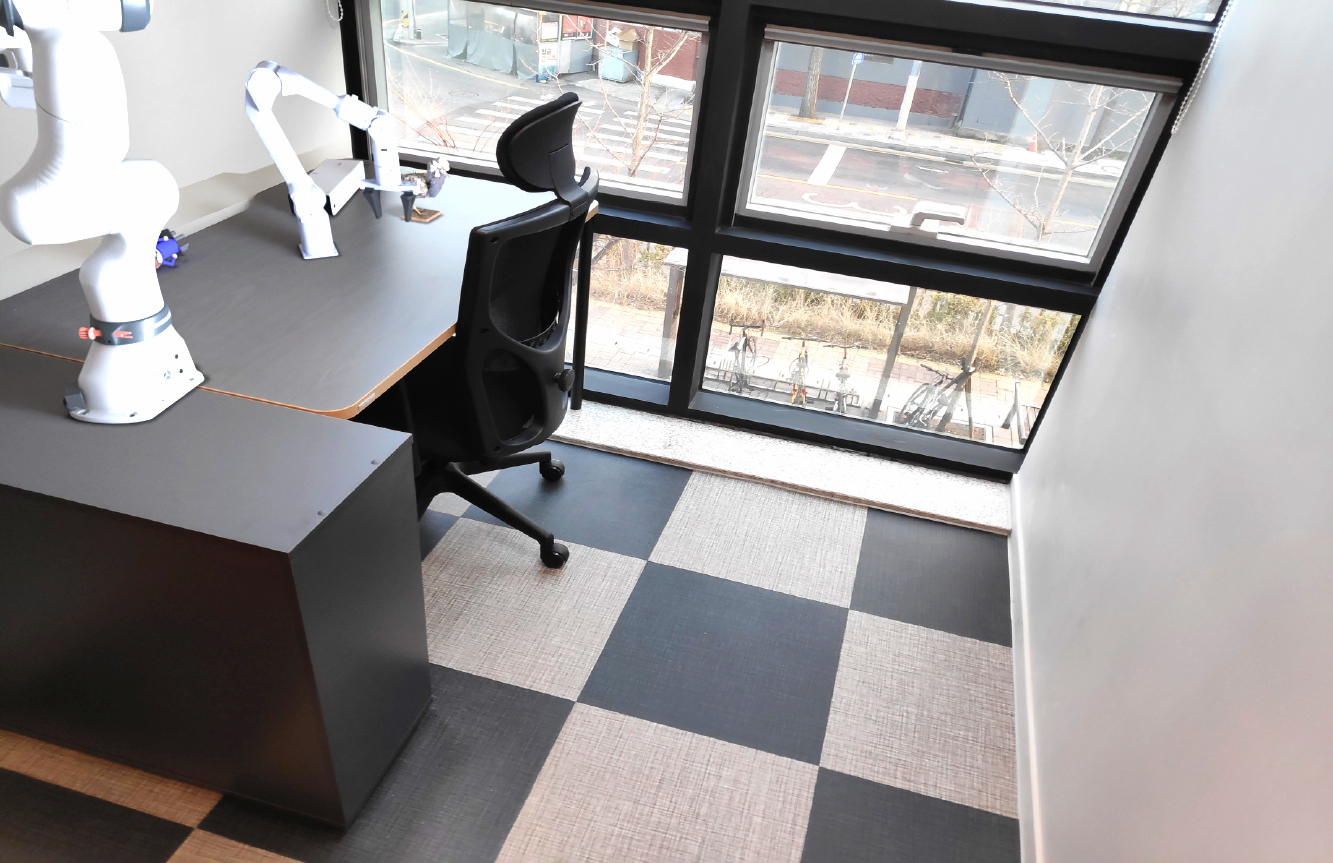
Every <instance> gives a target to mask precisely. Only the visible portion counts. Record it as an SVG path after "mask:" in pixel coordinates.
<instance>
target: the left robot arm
mask: <svg viewBox="0 0 1333 863" xmlns="http://www.w3.org/2000/svg"><path fill="white" fill-rule="evenodd" d="M153 7H154V0H0V99H1V101H2V102H3V103H4V104H5V105H6V106H7V107H8V108H14V109H24V110H25V109H26V110H34V112H35V115H36V119H37V120H36V121H37V139H36V144H35V146H34V149H33V150H32V153H31V154H30V155H29V158H28V159H27V160H26V162H25V163H24V165H23V166H21V168H20V169H19V170H18V171H17V172H16V173H15V174H14V175H12V177H10V178H9V179H7V180H6V181H4V182H2V183H1V184H0V223H1V225H2V226H3V228H4V229H5V230H6V231H7V232H8V233H9V234H10V235H12V236H13V237H14V238H16V239H17V240H19V241H21V242H23V243H25V244H27V245H30V246H35V245H36V246H37V245H39V246H40V245H42V246H43V245H62V244H68V243H69V244H70V243H72V242H78V241H82V240H85V239H90V238H95V237H100V236H102V239H101V241H100V243H99V245H98V247H97V248H96V249H95V250H94V251H93V252H92V253H91V254H90V255H89V256H87V257H86V258H85V259H84V261H83V262H81V265H80V268H79V271H78V280H79V284H80V287H81V289H82V292H83V294H84V297H85V300H86V303H87V306H88V308H89V311H90V312H89V327H86V326H81V327H80V328H79V329H78V337H79V338H81V340H89V339H90V340H91V344H90V347H89V350H88V352H87V354H86V357H85V359H84V363H83V365H82V367H81V370H80V372H79V375H78V378H77V380H75V381H68V382H65V389H64V396H63V399H62V405H63V406H64V408H65V409H67V410H68V411H69V415H70V416H71V417H72V418H73V419H75V420H79V421H82V422H88V423H94V424H95V423H97V424H130V423H138V422H144V421H149V420H151V419H153V418H154V417H156V416H157V415H158V414H161V412H163V411H164V410H165V409H166V408H169V406H171V405H172V404H174V403H175V402H176V401H178V400H179V399H181V398H182V397H184V396H185V395H186V394H187V393H188V392H190V391H191V390H193V389H194V388H196V387H197V386H198V385H199V384H201V383H203V381H204V380H205V377H204V376H203V374H202V372H200V371H199V370H197V369H196V367H195V364H194V362H193V360H192V356H191V355H190V352H189V350H188V347H187V345H186V342H185V340H184V339H183V338H182V337H181V335H180V334H179V333H178V332H177V331H176V329H175V328H174V327H173V325H172V324H173V318H172V313H171V310H170V308H169V306H168V303H167V301H165V300H164V299H163V295H162V292H161V289H160V284H159V280H158V276H157V270H156V269H155V264H154V254H155V247H156V243H157V240H158V237H159V234H160V232H161V230H163V228H164V227H165V225H166V223H167V222H168V221H169V220H170V218H172V216H173V215H174V214H175V213H176V212H177V209H178V206H179V202H180V192H179V188H178V184H177V183H176V180H175V179H174V177H173V176H172V173H170V171H169V170H168V169H167V168H166V167H164V166H163V165H162V164H161V163H159V162H158V161H156V160H155V159H151V158H125V157H126V156H127V155H126V154H127V153H128V150H129V146H130V138H129V137H130V136H129V118H128V105H127V94H126V88H125V83H124V82H125V81H124V78H123V74H122V73H123V72H122V70H121V67H120V63H119V60H118V57H117V54H116V51H115V49H114V47H113V45H112V44H111V42H110V41H109V40H108V39H107V38H106V37H105V36H104V35H103V34H101V32H102V31H103V32H104V31H108V32H109V31H119V32H120V33H131V32H132V33H134V32H138V31H142V30H145V29H146V27H147V26H148V25H149V24H150V23H151V15H152V13H153ZM100 31H101V32H100ZM2 49H4V50H2Z"/></svg>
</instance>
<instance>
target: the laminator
mask: <svg viewBox="0 0 1333 863" xmlns="http://www.w3.org/2000/svg"><path fill="white" fill-rule="evenodd" d="M307 175H308V176H309V177H310V178H311V179H312V180H313V182H314V184H315V185H316V186H317V187H319V188H320V189H321V190H322V191H323V192H324V194H325V196H326V202H325V205H324V207H323V209H324V210H325V212H326V213H327V214H328V216H333V217H335V216H336V215H337V214H338V213H339V212H340V210H341V209H342V208H343V207H344V206H345V205H346V204H347V202H348V201H349V200H350V199H351V198H352V197H353V196H354V194H355V193H356V192H357V191H358V190H359V189H360V185H359V181H360V180H361V179H366V173H365V166H364V161H363V160H359V159H358V160H357V159H336V158H326V159H324V160H323V161H322V162H321V163H320V164H319V165H318V166H317V167H315V168H314V169H313V170H312V171H311V172H310V173H309V174H307ZM287 198H288V204H289V208H290V212H291V214H292V215H296V213H295V211H294V203H293V200H292V198H291V197H290V193H289V192H288V193H287Z"/></svg>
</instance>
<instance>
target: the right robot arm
mask: <svg viewBox="0 0 1333 863" xmlns="http://www.w3.org/2000/svg"><path fill="white" fill-rule="evenodd" d="M244 88H245V99H244V111H245V114H246V115H247V117H248V119H249V121H250V123H251V124H252V125H253V127H254V129H255V131H256V132H257V135H258V136H259V138H260V139H261V141H262V143H263V145H264V146H265V148H266V150H267V152H268V153H269V155H270V157H271V159H272V161H273V162H274V164H275V165H276V168H277V169H278V171H279V173H280V174H281V176H282V178H283V180H284V182H285V183H286V185H287V189H288V193H290V197H291V198H292V200H293V203H294V211H295V213H296V214H295V215H296V222H297V227H298V231H299V236H300V242H301V243H299V244H298V247H299V250H300V252H301V255H302V257H303V259H305V260H308V259H319V258H326V257H335V256H339V253H338V250H337V248H336V247H335V244H334V242H333V236H332V230H331V224H330V219H329V215H328V214H327V213H326V212H325V210H324V209H323V207H324V205H325V202H326V196H325V194H324V192H323V191H322V190H321V189H320V188H319V187H317V186H316V185H315V184H314V182H313V180H312V179H311V178H310V177H309V176H308V175H309V174H308V173H307V172H306V171H305V169H304V167H303V165H302V164H301V161H300V159H298V156H297V154H296V152H295V150H293V148H292V146H291V143H290V142H289V140H288V138H287V136H286V134H285V133H284V131H283V129H282V128H281V125H280V124H279V123H278V121H277V118H276V117H275V115H274V114H273V111H272V107H273V105H274V101H275V99H276V97H277V95H278V94H279V93H280V91H281V93H282V94H281V95H282V96H289V95H296V94H297V95H300V96H302V97H305V98H307V99H309V100H312V101H314V102H316V103H318V104H321V105H323V106H325V107H327V108H329V109H331V110H333V111H334V113H335V116H336V117H337V118H338V119H340V120H342V121H344V122H346V123H348V124H350V125H352V126H354V127H356V128H358V129H360V130H362V131H365V132H366V131H367V132H368V133H369V135H370V137H371V141H372V142H371V144H372V145H371V149H372V157H373V163H374V164H373V165H374V173H375V178H365V179H361V180H360V181H359V185H360V188H359V189H361V190H363V191H362V196H363V197H364V198H365V200H366V201H367V202H368V203H369V205H370V207H371V210H372V212H373V214H374V217H375V219H376V220H380V219H381V218H382V217H383V211H382V204H381V191H389V192H399V193H402V194H401V195H400V196H399V198H400V200H401V203H402V207H403V208H402V209H403V214H404V216H405V219H404V221H405V223H410V221H412V220H411V215H412V209H414V207H413V205H414V204H415V201H416V199H417V198H416V196H417V194H418V193H419V192H420V188H419V184H412V183H408V182H404V181H401V177H400V174H401V170H400V160H399V152H398V145H397V139H396V136H395V133H396V122H395V119H394V117H393V116H392V114H391V113H389V112H387V110H386V109H383V108H382V109H381V108H380V109H379V107H378V106H375V105H374V106H371V105H369V104H367V103H365V102H363V101H361V100H359V99H358V98H359V96H357V95H355V94H352V95H350V94H347V93H346V94H342V95H337V94H336V93H335V92H332V91H331V90H328V89H327V88H326V87H323V86H322V85H320V84H318V83H316V82H314V81H313V80H311V79H309V78H307V77H305V76H303V75H301V74H300V73H298V72H296V71H294V70H292V69H291V68H289V67H287V66H285V65H280V64H279V63H277V62H275V61H273V60H267V59H266V60H261V61H259V62H258V63H257V64H256V66H255V67H254V69H252V70H251V71H250V73H249V75H248V77H247V79H246V81H245V83H244ZM414 206H415V205H414Z"/></svg>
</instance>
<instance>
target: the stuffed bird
mask: <svg viewBox="0 0 1333 863" xmlns="http://www.w3.org/2000/svg"><path fill="white" fill-rule="evenodd" d="M449 166H450V163H449V162H448V160H447V159H446V157H444V156H438V157H437V158H436V159H431V160H430V161H429V162H428V163H427V166H426V167H427V168H426V172H423V173H420V172H418V173H413V172H410V173H409V172H408V173H406V174H403V173H400V177H401V181H404V182H408V183H412V184H419V188H420V192H419V193H418V194H417V196H416V199H429V198H432V199H433V198H436V197H437V196H438V194H439V193H440V192H441V190H442V188H443V185H444V184H445V179H447V177H449V178H450V179H452V180H454V179H453V177H452V176H451V175H450V174H449V173H447V171H449V170H450V167H449ZM441 215H442V213H441V211H440V210H436V209H435V210H434V209H430V208H424V207H417V206H415V205H413V209H412V215H411V220H410V221H414V222H420V223H429V222H430V221H432V220H434V219H435V218H437V217H438V216H441ZM401 219H403V220H405V216H404V213H403V214H402V215H401Z"/></svg>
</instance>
